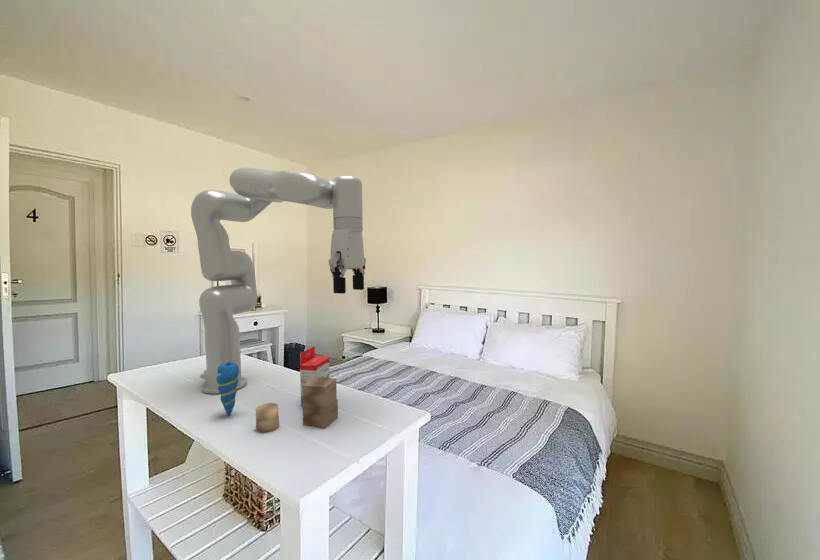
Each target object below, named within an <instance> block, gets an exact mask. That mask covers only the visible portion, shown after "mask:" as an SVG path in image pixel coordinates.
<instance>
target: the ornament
mask: <svg viewBox="0 0 820 560" xmlns="http://www.w3.org/2000/svg"><path fill="white" fill-rule="evenodd" d="M229 359H230V358H229ZM226 360H227V359H226ZM217 370H218V376H217V382H218V384H219V386H218V390H219V392H220V393H219V395H220V398H219V399H220V401H221V405H222V407H223V408H224V410H225V411H224V412H225V413H226V416H229V417H230V416H231V414H232V412H233V410H234V407H235V405H236V396H237V389H236V386H237V384H238V374H239V368H238V365H237V364H236V363H230V360H227V361H226V363H225V364H222V365H220V366H219V367H218V369H217Z"/></svg>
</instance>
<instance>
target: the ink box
mask: <svg viewBox="0 0 820 560" xmlns="http://www.w3.org/2000/svg"><path fill="white" fill-rule="evenodd" d="M315 352H316V346H312V347H310V348H307V349H305V350H304V351H301V352H300V354H299V355H300V356H299V358H300V359H299V362H300V364H299V376H300V377H299V378H300V381H299V382H300V406H301V407H302V405H303V393H302V385H304V384H305V383H306V382H308V381H309V380H311V379H312V378H313V377H322V378H330V356H325V355H316V354H315ZM308 353H309V354H308Z"/></svg>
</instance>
